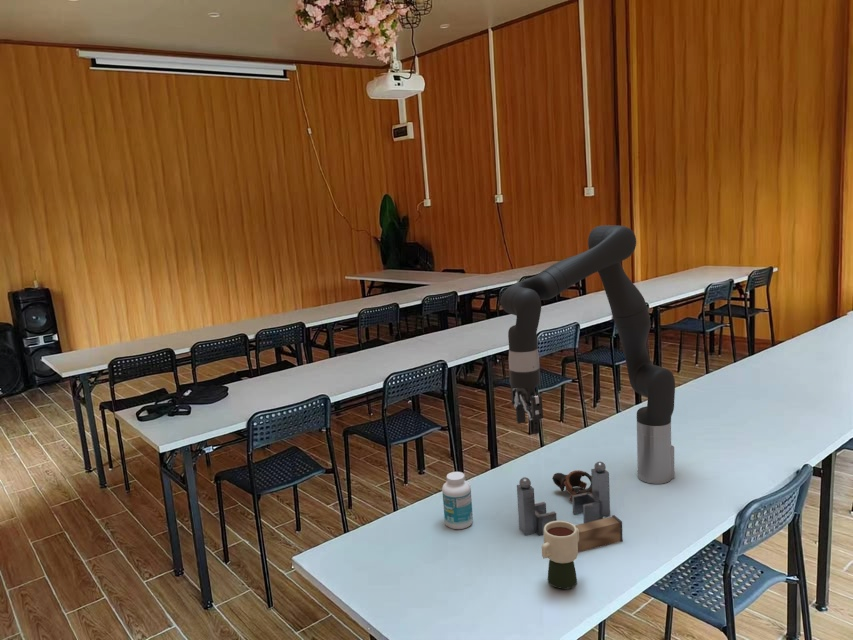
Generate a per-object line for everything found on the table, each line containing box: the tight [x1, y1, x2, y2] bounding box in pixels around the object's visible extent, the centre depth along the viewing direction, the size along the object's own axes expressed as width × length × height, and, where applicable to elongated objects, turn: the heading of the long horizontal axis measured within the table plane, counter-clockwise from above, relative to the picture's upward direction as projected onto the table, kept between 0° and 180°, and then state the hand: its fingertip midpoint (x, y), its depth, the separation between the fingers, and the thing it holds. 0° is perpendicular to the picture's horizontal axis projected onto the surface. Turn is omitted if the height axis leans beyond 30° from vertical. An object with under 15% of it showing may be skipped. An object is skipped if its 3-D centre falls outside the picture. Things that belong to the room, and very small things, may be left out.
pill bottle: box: [441, 471, 474, 530], centre depth 171 cm, size 8×7×14 cm
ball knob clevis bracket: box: [516, 461, 611, 537], centre depth 167 cm, size 24×7×14 cm, turn 106°
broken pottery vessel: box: [552, 470, 592, 503], centre depth 182 cm, size 12×9×8 cm
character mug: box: [541, 520, 579, 589], centre depth 142 cm, size 11×7×13 cm, turn 125°
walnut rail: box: [574, 514, 623, 553], centre depth 157 cm, size 14×3×5 cm, turn 107°
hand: (527, 427), depth 167 cm, fingers open, 8 cm apart
